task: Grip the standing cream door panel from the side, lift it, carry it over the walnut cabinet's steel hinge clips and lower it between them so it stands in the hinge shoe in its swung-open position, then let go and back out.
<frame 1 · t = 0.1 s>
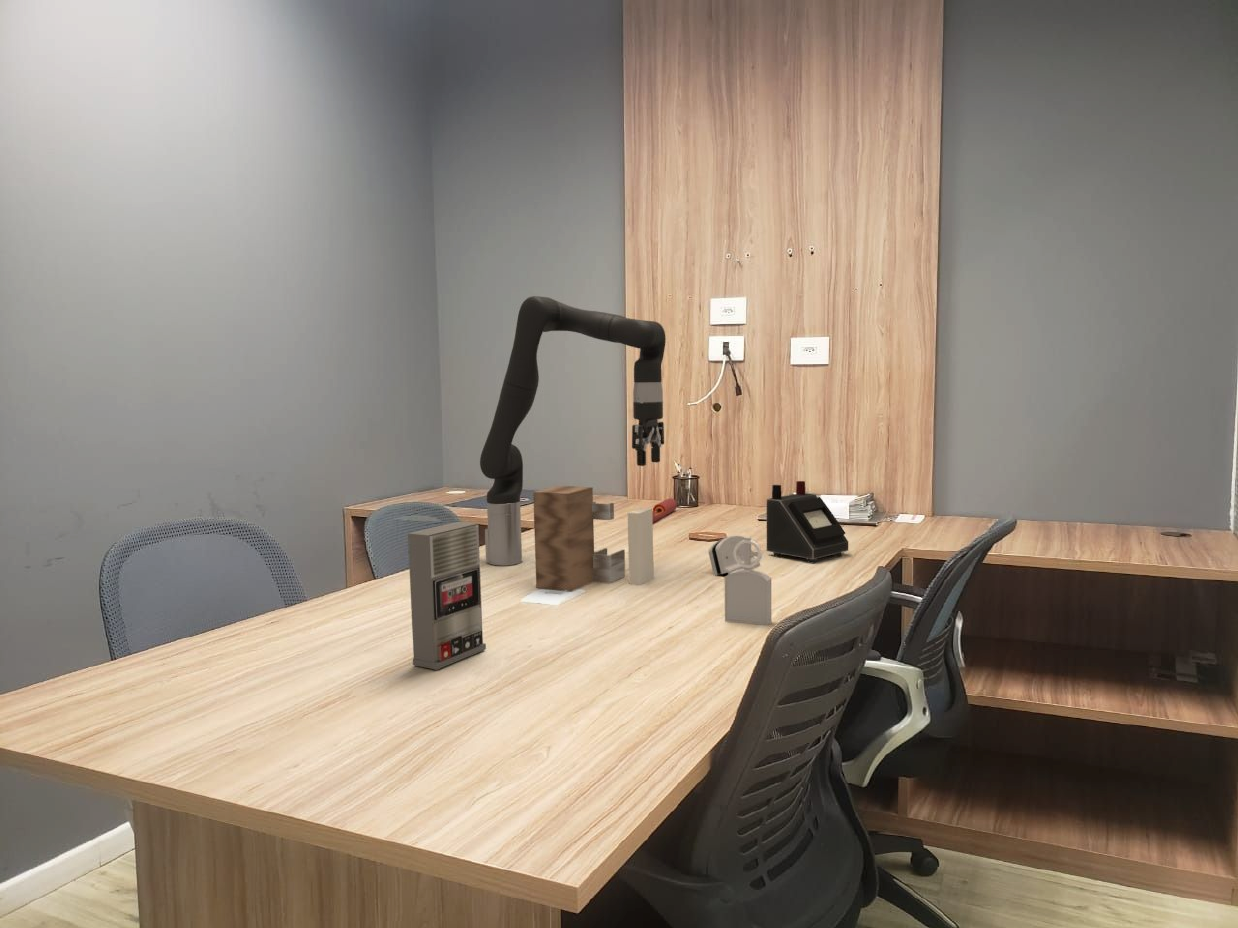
hand: (648, 463, 239), 29 cm above the table, tool pointing down, fingers open, 8 cm apart
blood vessel: (654, 521, 328), on the table
door: (641, 580, 237), on the table
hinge: (733, 571, 247), on the table
voltmeter: (807, 556, 263), on the table
gravestone: (748, 622, 198), on the table
cabinet: (565, 584, 235), on the table
cassette tape recorder: (450, 659, 177), on the table
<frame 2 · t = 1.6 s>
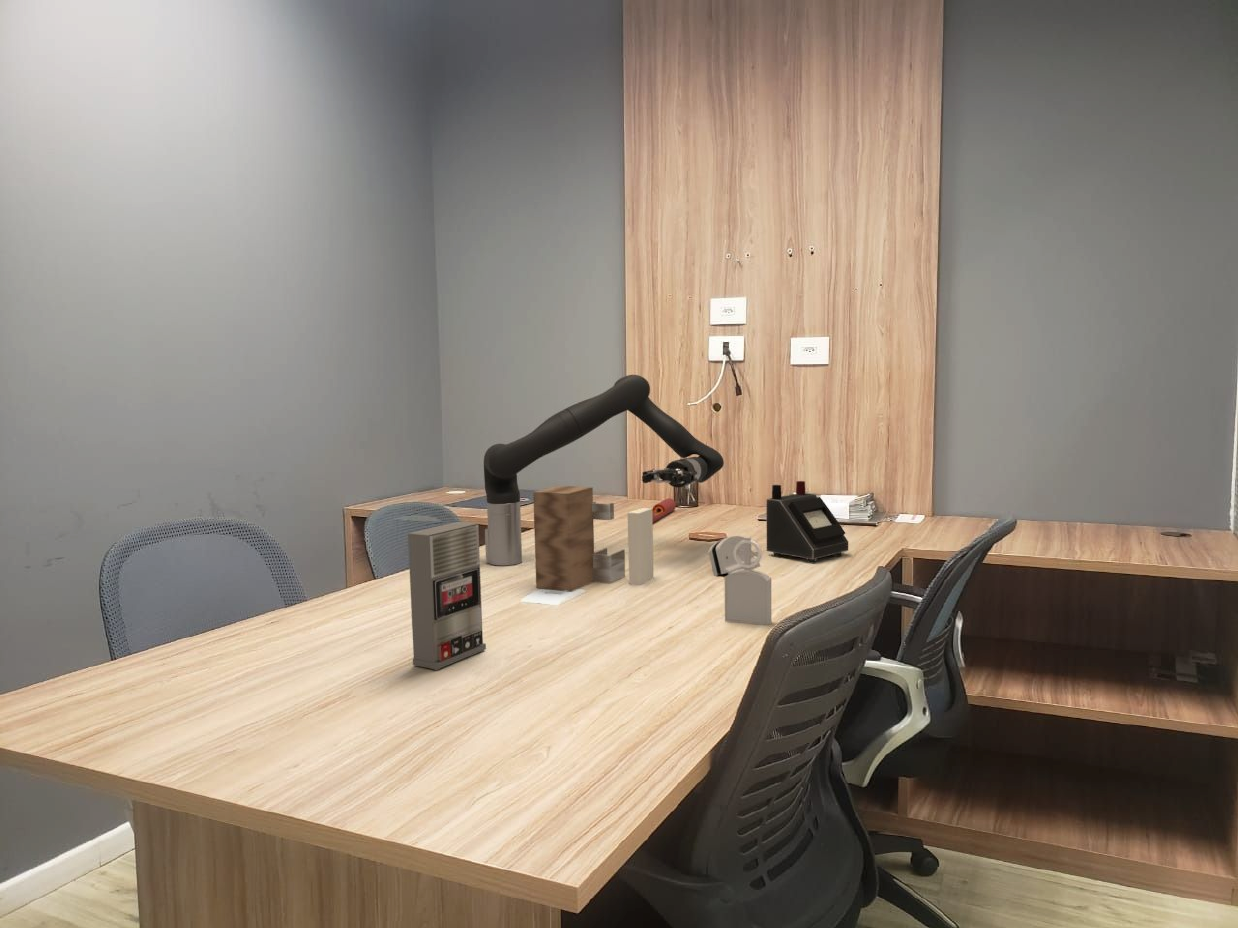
hand: (658, 479, 246), 24 cm above the table, tool horizontal, fingers open, 8 cm apart
nothing on the table moved.
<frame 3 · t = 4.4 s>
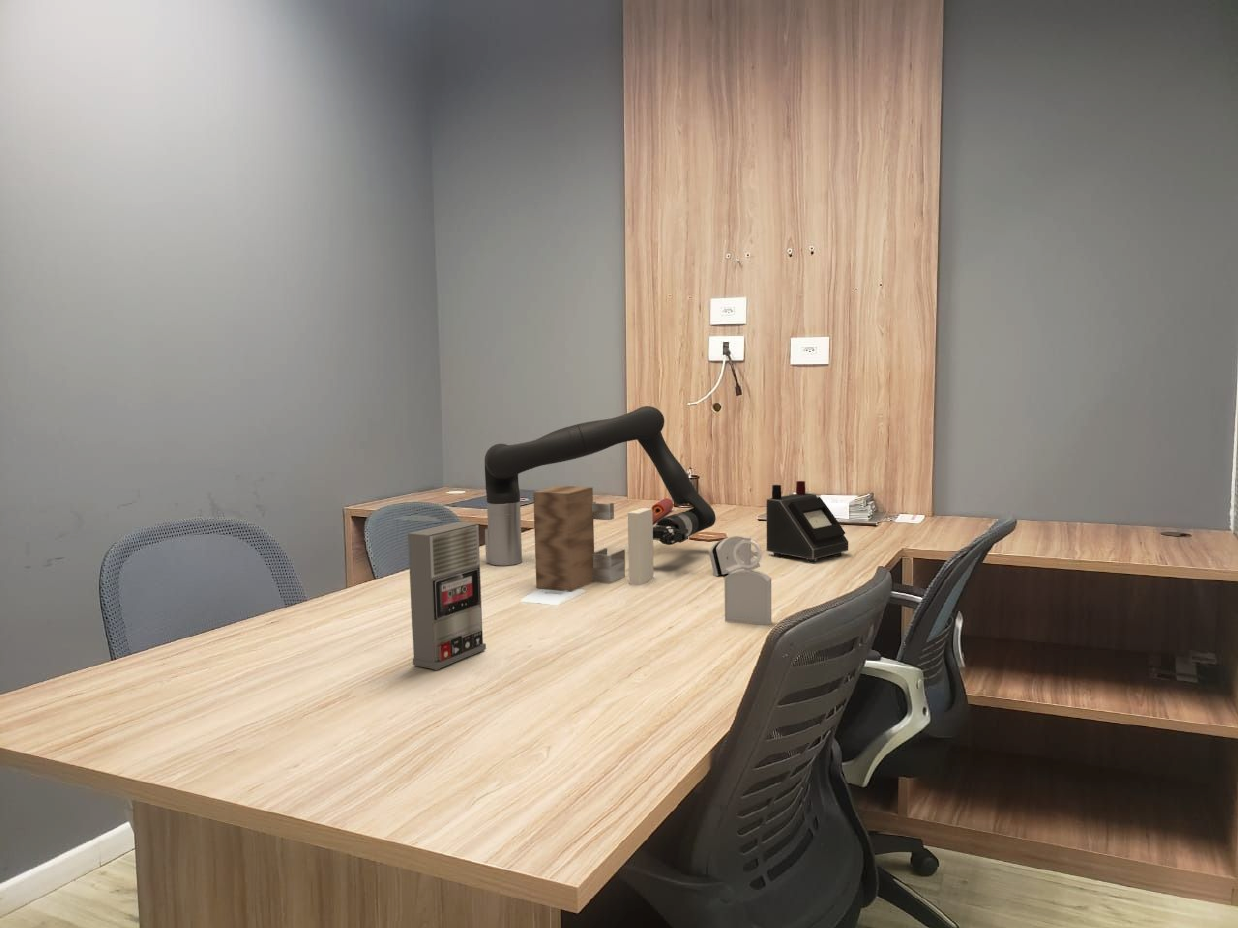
hand: (648, 538, 240), 10 cm above the table, tool horizontal, fingers open, 8 cm apart
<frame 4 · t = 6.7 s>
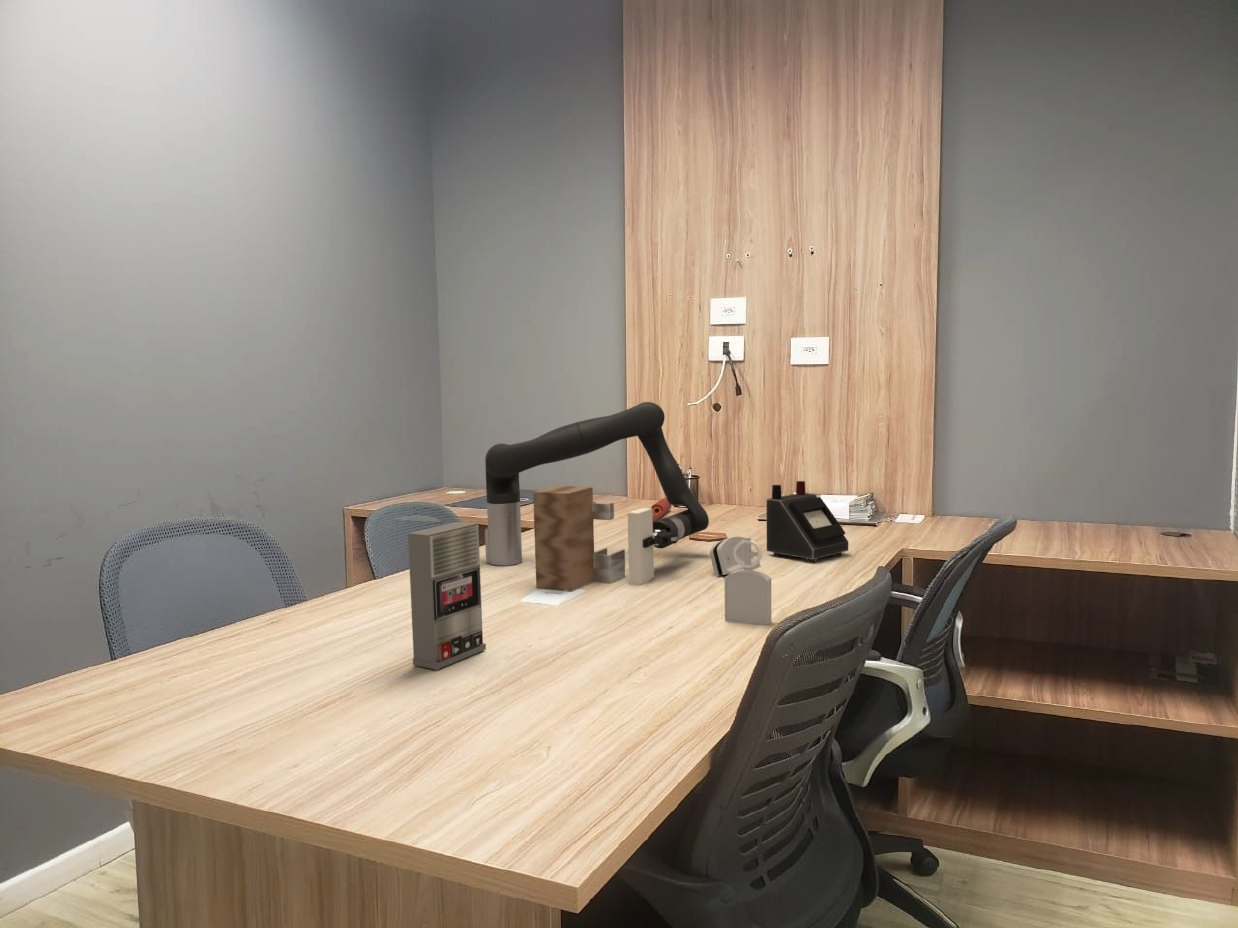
hand: (637, 543, 234), 10 cm above the table, tool horizontal, fingers closed on door, 3 cm apart
door: (641, 580, 237), on the table, touching gripper
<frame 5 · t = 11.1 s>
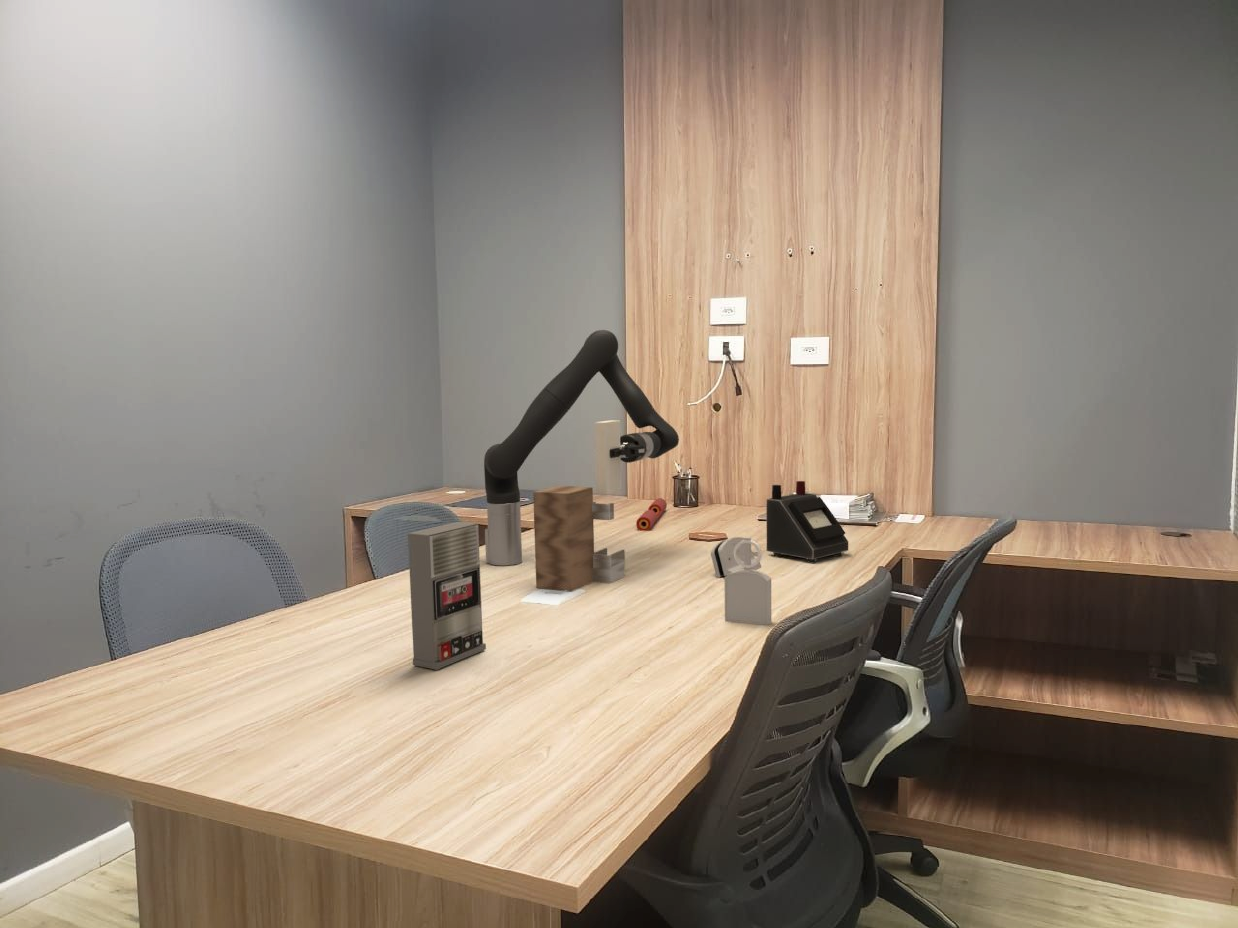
hand: (604, 453, 236), 32 cm above the table, tool horizontal, fingers closed on door, 3 cm apart
door: (609, 491, 239), point 22 cm above the table, touching gripper
when the fingers open (15 cm above the table, at t = 15.7 s): door stays where it is, resting on cabinet.
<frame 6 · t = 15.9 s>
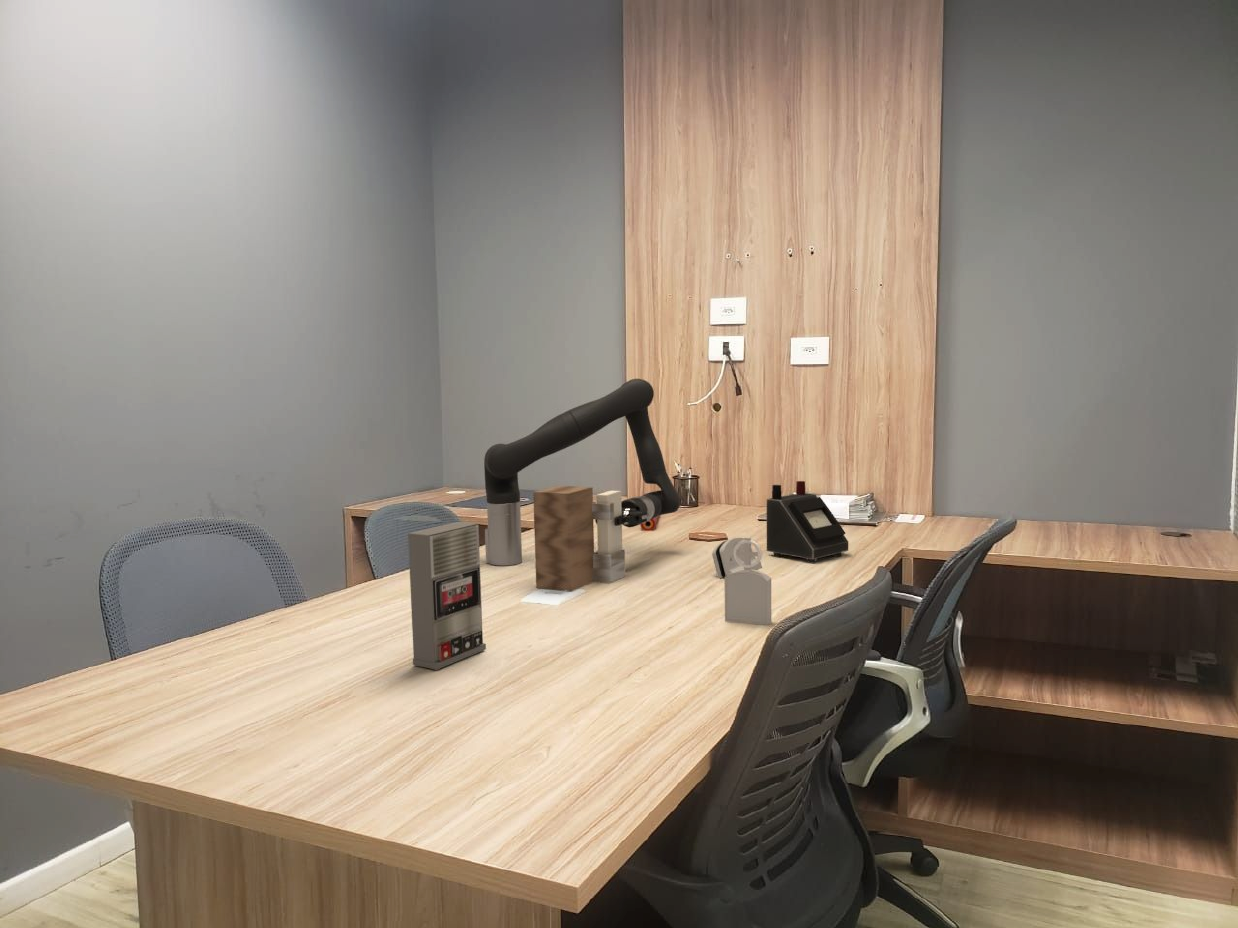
hand: (606, 521, 238), 15 cm above the table, tool horizontal, fingers open, 4 cm apart
door: (610, 561, 241), point 4 cm above the table, touching cabinet
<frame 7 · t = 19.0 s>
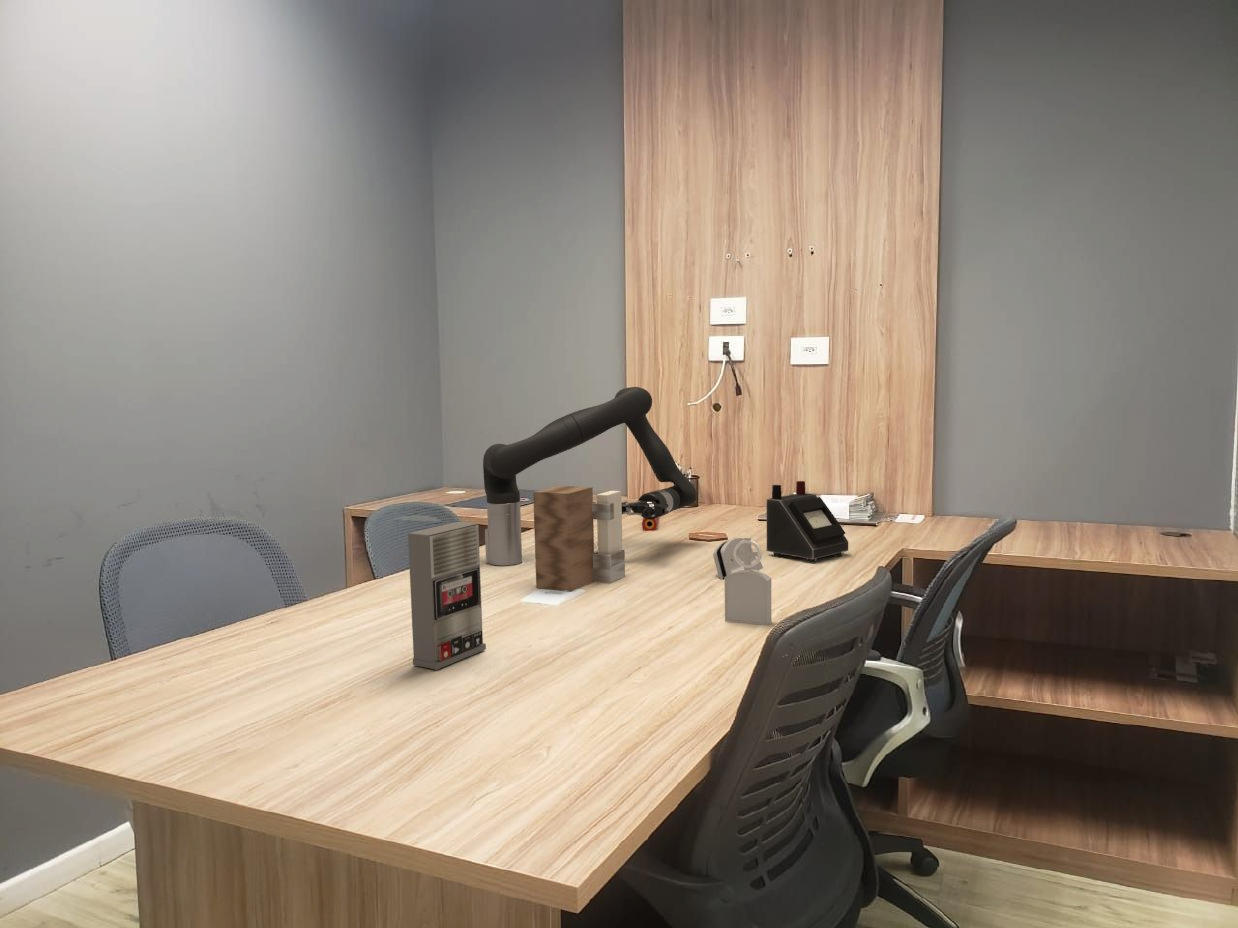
hand: (629, 513, 250), 15 cm above the table, tool horizontal, fingers open, 8 cm apart
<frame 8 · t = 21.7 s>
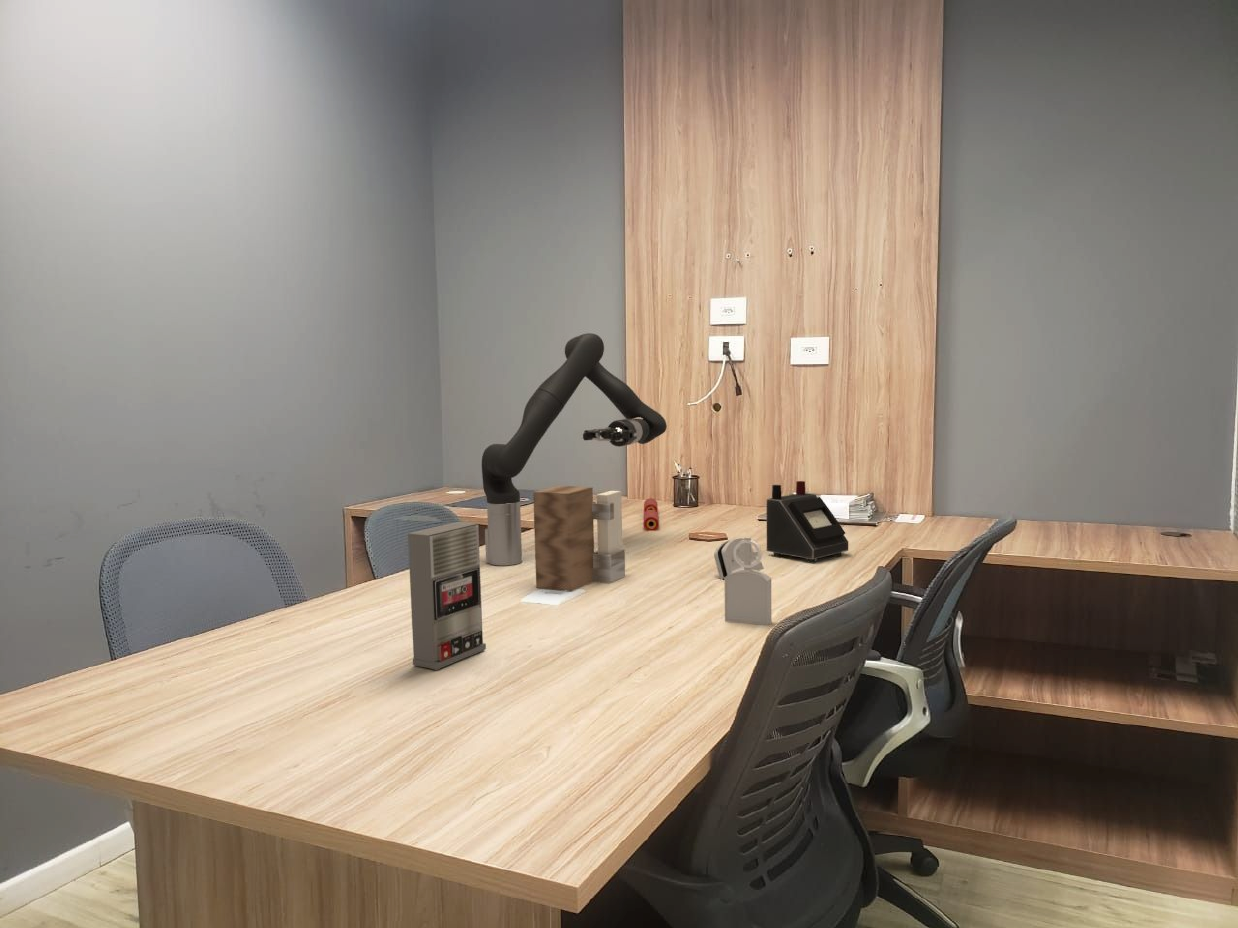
hand: (598, 436, 256), 35 cm above the table, tool horizontal, fingers open, 8 cm apart
at the end: door 0.1 cm from the target spot, point 4.0 cm above the table; door tilted 0°; the gripper is holding nothing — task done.
